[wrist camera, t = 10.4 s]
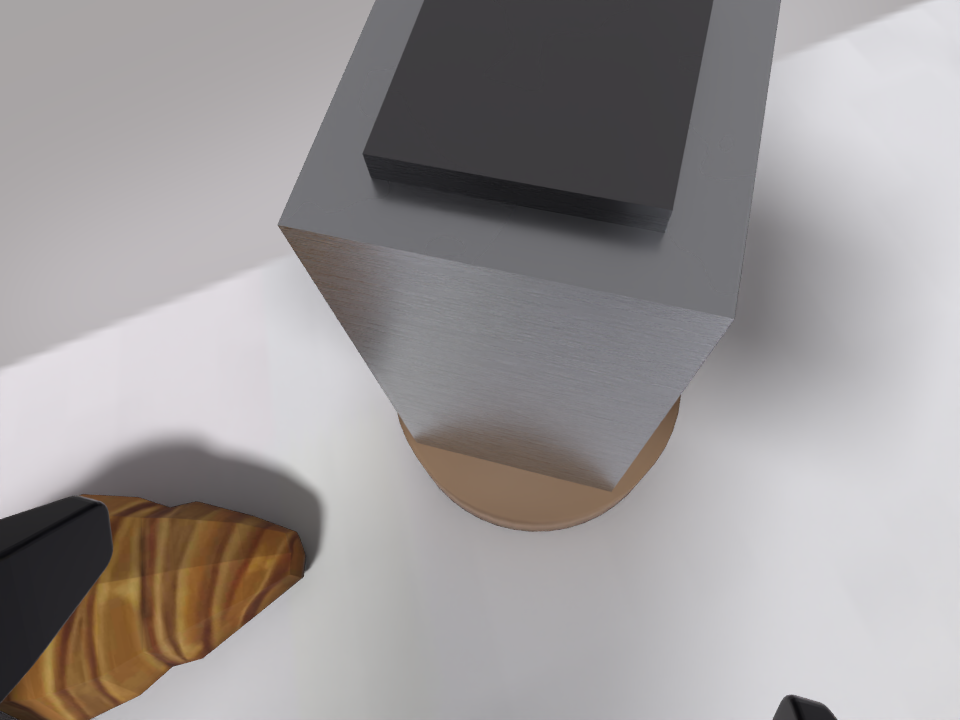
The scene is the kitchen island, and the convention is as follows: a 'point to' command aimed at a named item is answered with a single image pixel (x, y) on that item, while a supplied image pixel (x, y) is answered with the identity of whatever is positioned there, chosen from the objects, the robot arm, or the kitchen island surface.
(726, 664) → the kitchen island surface
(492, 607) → the kitchen island surface
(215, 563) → the croissant
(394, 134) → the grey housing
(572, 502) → the walnut stand
